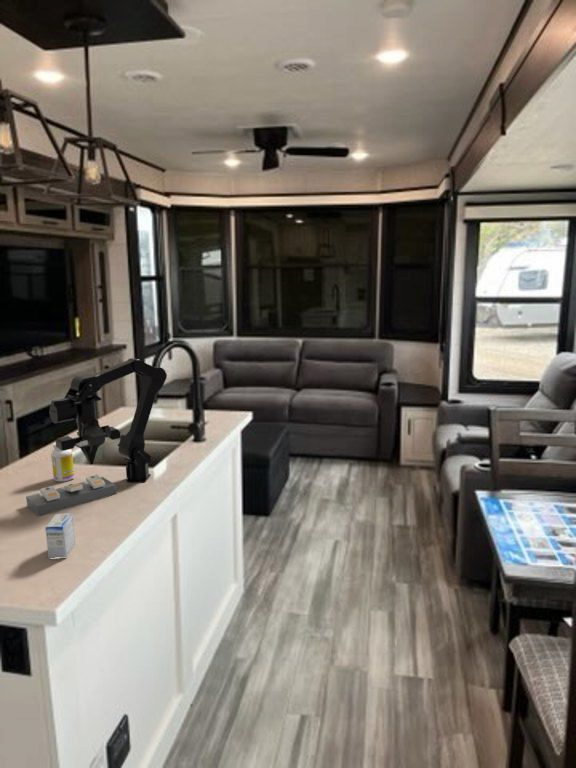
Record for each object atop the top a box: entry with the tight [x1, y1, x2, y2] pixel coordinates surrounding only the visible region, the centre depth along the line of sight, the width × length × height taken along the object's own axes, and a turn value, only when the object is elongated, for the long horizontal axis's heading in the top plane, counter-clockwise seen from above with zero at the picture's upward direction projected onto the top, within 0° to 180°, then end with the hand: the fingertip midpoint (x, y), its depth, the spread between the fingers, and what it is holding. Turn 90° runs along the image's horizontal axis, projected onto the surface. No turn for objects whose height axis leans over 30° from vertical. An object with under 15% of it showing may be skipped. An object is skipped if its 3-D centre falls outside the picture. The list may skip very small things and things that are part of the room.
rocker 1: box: [39, 485, 60, 501], centre depth 170 cm, size 6×4×1 cm, turn 42°
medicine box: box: [45, 513, 76, 559], centre depth 143 cm, size 8×4×9 cm, turn 5°
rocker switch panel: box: [25, 476, 117, 517], centre depth 176 cm, size 24×10×4 cm, turn 131°
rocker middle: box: [63, 482, 83, 492], centre depth 175 cm, size 6×4×1 cm, turn 41°
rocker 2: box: [85, 474, 105, 489], centre depth 179 cm, size 6×4×1 cm, turn 42°
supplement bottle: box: [50, 441, 75, 483], centre depth 194 cm, size 7×7×13 cm
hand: (91, 464), depth 180 cm, fingers closed
